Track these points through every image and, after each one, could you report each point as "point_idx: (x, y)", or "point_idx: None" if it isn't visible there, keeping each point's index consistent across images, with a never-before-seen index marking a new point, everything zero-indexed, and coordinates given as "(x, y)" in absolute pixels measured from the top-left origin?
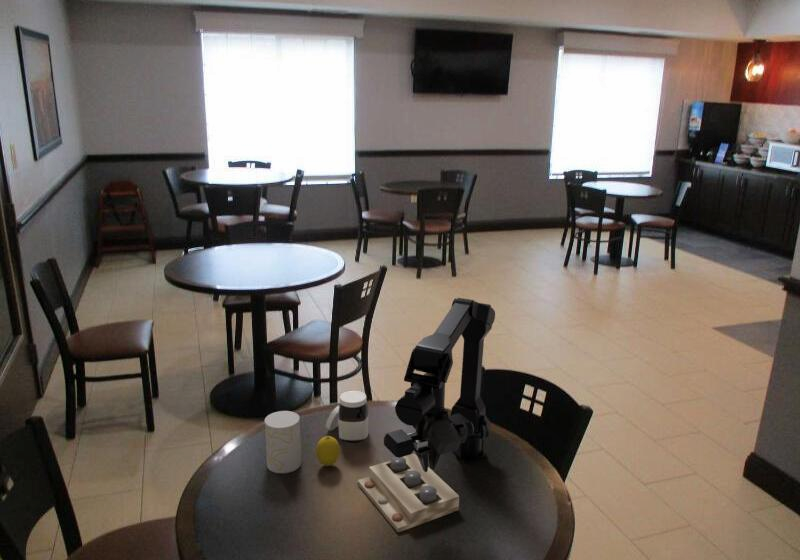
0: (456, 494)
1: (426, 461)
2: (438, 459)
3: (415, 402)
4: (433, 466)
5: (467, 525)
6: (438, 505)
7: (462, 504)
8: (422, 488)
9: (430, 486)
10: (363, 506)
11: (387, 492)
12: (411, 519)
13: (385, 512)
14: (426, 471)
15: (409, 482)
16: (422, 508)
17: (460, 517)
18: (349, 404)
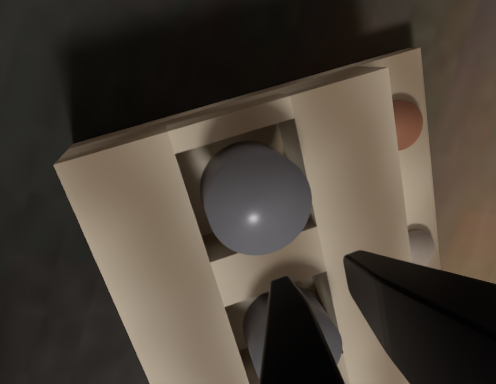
0: (68, 185)
1: (467, 300)
2: (264, 354)
3: None
4: (297, 292)
5: (52, 5)
6: (207, 118)
7: (39, 185)
8: (287, 232)
9: (234, 244)
10: (466, 242)
11: None
12: (363, 68)
13: (428, 172)
14: (357, 253)
15: (321, 309)
16: (314, 95)
17: (77, 83)
18: None
